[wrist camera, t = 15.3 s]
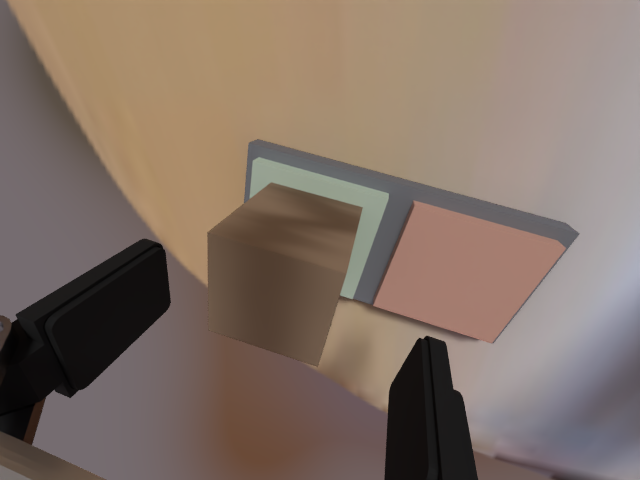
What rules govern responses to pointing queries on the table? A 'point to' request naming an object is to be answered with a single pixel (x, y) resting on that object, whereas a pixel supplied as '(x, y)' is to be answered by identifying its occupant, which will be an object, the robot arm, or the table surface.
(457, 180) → the table surface
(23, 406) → the robot arm
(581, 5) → the table surface
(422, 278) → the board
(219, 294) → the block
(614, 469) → the table surface
